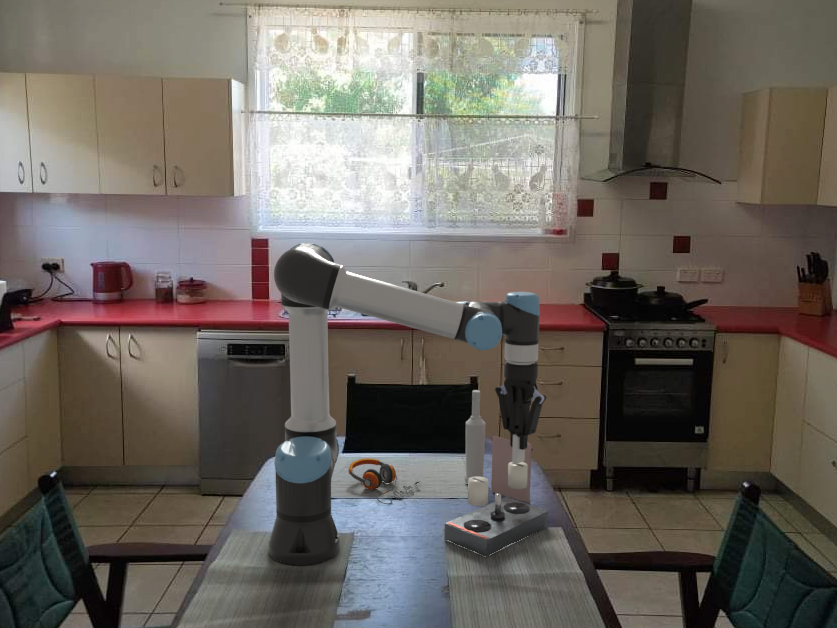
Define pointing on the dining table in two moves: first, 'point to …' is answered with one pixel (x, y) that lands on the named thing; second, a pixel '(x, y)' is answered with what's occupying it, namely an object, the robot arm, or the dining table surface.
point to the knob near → (478, 491)
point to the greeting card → (500, 469)
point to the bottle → (475, 440)
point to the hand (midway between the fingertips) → (518, 461)
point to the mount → (496, 526)
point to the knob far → (517, 475)
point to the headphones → (376, 475)
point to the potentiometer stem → (497, 509)
